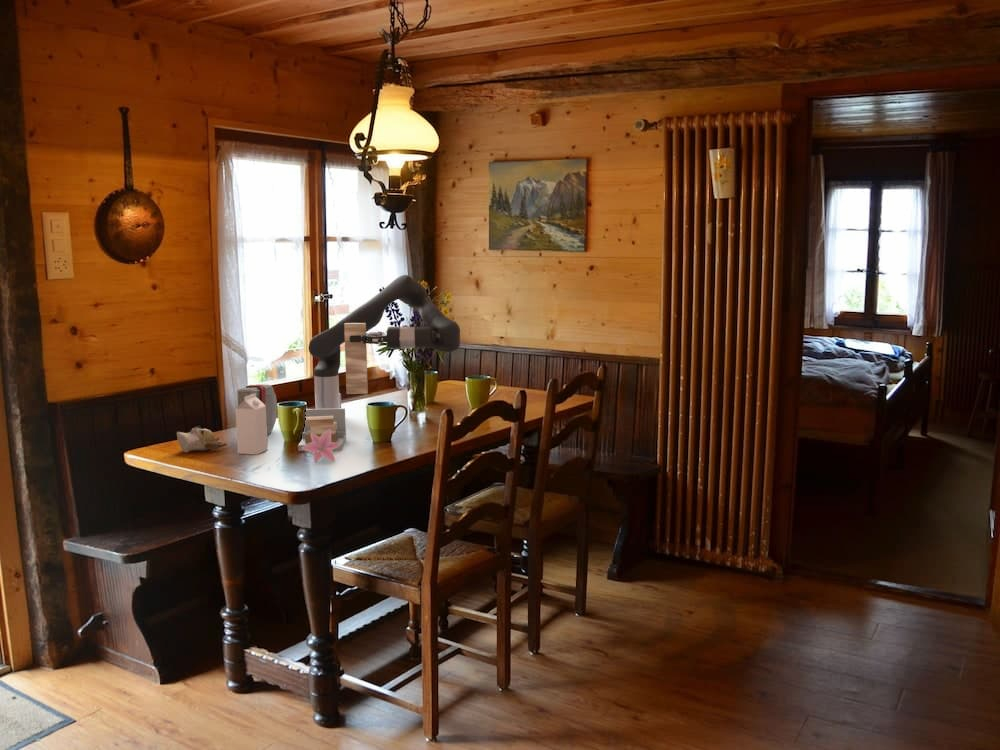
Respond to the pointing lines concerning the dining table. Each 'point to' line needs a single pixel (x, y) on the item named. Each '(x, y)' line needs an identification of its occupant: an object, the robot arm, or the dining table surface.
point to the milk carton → (251, 426)
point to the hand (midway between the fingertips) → (350, 338)
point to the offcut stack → (321, 427)
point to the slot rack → (337, 417)
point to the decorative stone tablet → (266, 397)
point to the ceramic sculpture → (198, 440)
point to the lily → (321, 446)
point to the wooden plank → (355, 360)
